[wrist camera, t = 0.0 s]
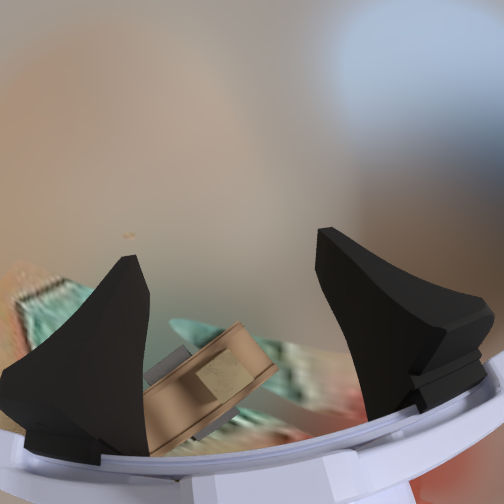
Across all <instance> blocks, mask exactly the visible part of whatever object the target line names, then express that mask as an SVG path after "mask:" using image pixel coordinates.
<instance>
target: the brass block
mask: <svg viewBox="0 0 504 504" xmlns="http://www.w3.org/2000/svg"><path fill="white" fill-rule="evenodd" d="M196 374H197V376H198V377H199V378H200V379H201V380H202V382H203V383H204V384H205V385H206V386H207V388H208V389H209V390H210V391H211V392H212V393H213V395H214V396H215V397H216V398H217V399H218V400H219V401H220V403H221V404H224V403H225V402H226V401H228V400H229V399H230V398H232V397H233V396H234V395H235V394H237V393H238V392H239V391H241V390H242V389H243V388H244V387H246V386H247V385H248V384H250V383H251V382H252V381H253V380H254V378H253V377H252V376H251V375H250V374H249V373H248V372H247V370H246V369H245V368H244V367H243V366H242V364H241V363H240V362H239V361H238V360H237V359H236V357H235V356H234V355H233V354H232V353H231V351H230V350H229V349H228V348H225V349H224V350H223V351H222V352H220V353H219V354H218V355H216V356H215V357H214V358H213V359H211V360H210V361H209V362H207V363H206V364H205V365H203V366H202V367H201V368H199V369H198V370H197V371H196Z"/></svg>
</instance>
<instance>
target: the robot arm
mask: <svg viewBox="0 0 504 504" xmlns="http://www.w3.org/2000/svg"><path fill="white" fill-rule="evenodd" d="M315 271H316V274H317V277H318V280H319V283H320V286H321V288H322V291H323V293H324V295H325V297H326V299H327V301H328V303H329V305H330V307H331V309H332V311H333V313H334V315H335V317H336V319H337V321H338V323H339V325H340V327H341V329H342V332H343V334H344V336H345V339H346V341H347V344H348V347H349V350H350V353H351V356H352V359H353V362H354V366H355V369H356V372H357V376H358V379H359V383H360V387H361V391H362V395H363V399H364V404H365V408H366V413H367V418H368V422H367V423H364V424H361V425H358V426H355V427H352V428H348V429H345V430H342V431H338V432H335V433H331V434H327V435H323V436H320V437H316V438H312V439H307V440H303V441H299V442H294V443H289V444H284V445H279V446H274V447H268V448H262V449H256V450H249V451H241V452H233V453H224V454H214V455H201V456H182V457H150V453H149V447H148V441H147V434H146V426H145V417H144V404H143V378H142V377H143V374H142V373H143V359H144V350H145V342H146V336H147V329H148V321H149V311H150V310H149V309H150V292H149V290H148V287H147V284H146V282H145V279H144V276H143V273H142V271H141V268H140V265H139V262H138V259H137V256H136V255H130V256H124V257H121V258H120V260H118V262H117V263H116V264H115V265H114V266H113V268H112V269H111V270H110V271H109V273H108V274H107V275H106V276H105V278H104V279H103V280H102V281H101V283H100V284H99V285H98V286H97V288H96V289H95V290H94V291H93V292H92V294H91V295H90V296H89V297H88V298H87V299H86V301H85V302H84V303H83V304H82V305H81V307H80V308H79V309H78V310H77V311H76V312H75V313H74V314H73V315H72V316H71V317H70V318H69V319H68V320H67V321H66V322H65V323H64V324H63V325H62V326H61V327H60V328H59V329H58V330H57V331H55V332H54V333H53V334H52V335H51V336H50V337H49V338H48V339H47V340H45V341H44V342H43V343H42V344H40V345H39V346H38V347H37V348H35V349H34V350H33V351H31V352H30V353H29V354H27V355H26V356H24V357H23V358H21V359H20V360H18V361H17V362H15V363H14V364H12V365H10V366H9V367H7V368H6V369H4V370H3V372H2V375H1V378H0V410H1V411H3V412H4V413H5V414H6V415H7V416H8V417H10V418H11V419H12V420H14V421H15V422H16V423H18V424H19V425H20V426H22V427H23V428H24V429H26V435H25V436H23V435H20V434H18V433H14V432H10V431H6V430H3V429H0V490H2V491H5V492H7V493H9V494H12V495H14V496H16V497H19V498H21V499H24V500H27V501H29V502H32V503H35V504H416V502H415V499H414V496H413V493H412V490H411V487H410V484H409V481H410V480H412V479H414V478H416V477H418V476H420V475H422V474H424V473H426V472H428V471H430V470H432V469H433V468H435V467H437V466H439V465H441V464H442V463H444V462H446V461H448V460H449V459H451V458H453V457H455V456H456V455H458V454H460V453H461V452H463V451H464V450H466V449H467V448H469V447H470V446H472V445H474V444H475V443H476V442H478V441H479V440H481V439H482V438H484V437H485V436H487V435H488V434H489V433H491V432H492V431H493V430H495V429H496V428H498V427H499V426H500V425H501V424H503V423H504V350H503V351H502V352H500V353H499V354H497V355H495V356H494V357H492V358H490V359H489V360H487V361H486V362H485V363H484V364H483V365H482V364H481V362H480V361H479V359H480V358H481V356H482V354H481V353H480V351H479V349H478V347H479V346H480V344H481V343H482V342H483V340H484V339H485V337H486V336H487V334H488V333H489V331H490V329H491V328H492V326H493V323H494V318H495V315H494V313H493V312H492V310H491V309H490V308H489V306H488V305H487V304H486V302H485V301H484V300H483V299H482V298H480V297H476V296H472V295H468V294H464V293H459V292H456V291H453V290H450V289H446V288H443V287H440V286H438V285H435V284H432V283H430V282H427V281H425V280H422V279H420V278H418V277H415V276H413V275H411V274H409V273H407V272H405V271H403V270H401V269H399V268H397V267H395V266H393V265H392V264H390V263H388V262H386V261H385V260H383V259H381V258H380V257H378V256H376V255H375V254H373V253H372V252H370V251H368V250H367V249H365V248H364V247H362V246H361V245H359V244H358V243H356V242H355V241H353V240H352V239H350V238H349V237H347V236H346V235H344V234H343V233H341V232H340V231H338V230H336V229H335V228H333V227H329V228H321V229H318V234H317V248H316V261H315ZM174 480H180V481H179V482H175V481H174Z"/></svg>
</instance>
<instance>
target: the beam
mask: <svg viewBox="0 0 504 504" xmlns="http://www.w3.org/2000/svg"><path fill="white" fill-rule="evenodd" d="M225 348H228V349H229V350H230V351H231V353H232V354H233V355H234V356H235V357H236V359H237V360H238V361H239V362H240V363H241V364H242V366H243V367H244V368H245V369H246V370H247V372H248V373H249V374H250V375H251V376H252V377H253V378H254V380H253V381H252V382H251V383H250V384H248V385H247V386H246V387H244V388H243V389H242V390H241V391H239V392H238V393H237V394H235V395H234V396H233V397H232V398H230V399H229V400H228V401H226V402H225V403H224V404H221V403H220V401H219V400H218V399H217V398H216V397H215V396H214V395H213V393H212V392H211V391H210V390H209V389H208V388H207V386H206V385H205V384H204V383H203V382H202V380H201V379H200V378H199V377H198V376H197V374H196V371H197V370H198V369H199V368H201V367H202V366H203V365H205V364H206V363H207V362H209V361H210V360H211V359H213V358H214V357H215V356H216V355H218V354H219V353H220V352H222V351H223V350H224V349H225ZM278 370H279V369H278V366H277V365H276V364H275V363H273V362H272V361H271V359H270V358H269V357H268V356H267V355H266V353H265V352H264V351H263V350H262V349H261V348H260V346H259V345H258V344H257V343H256V342H255V340H254V339H253V338H252V337H251V336H250V334H249V333H248V332H247V331H246V330H245V328H244V326H243V325H242V323H240V322H239V321H237V322H236V323H234V324H233V325H232V326H231V327H229V328H228V329H227V330H225V331H224V332H223V333H222V334H220V335H219V336H218V337H216V338H215V339H214V340H212V341H211V342H210V343H209V344H207V345H206V346H205V347H203V348H202V349H201V350H199V351H198V352H197V353H195V354H194V355H193V356H191V357H190V358H189V359H187V360H186V361H185V362H183V363H182V364H181V365H179V366H178V367H177V368H175V369H174V370H173V371H171V372H170V373H169V374H167V375H166V376H165V377H163V378H162V379H160V380H159V381H158V382H156V383H155V384H154V385H152V386H151V387H149V388H148V389H147V390H145V391H144V392H143V404H144V417H145V426H146V434H147V441H148V447H149V453H150V457H161V456H163V455H164V454H166V453H168V452H169V451H171V450H172V449H174V448H175V447H177V446H178V445H180V444H181V443H183V442H184V441H186V440H187V439H189V438H190V437H192V436H193V435H195V434H196V433H198V432H199V431H200V430H202V429H203V428H205V427H206V426H208V425H209V424H210V423H212V422H213V421H214V420H216V419H217V418H219V417H220V416H221V415H223V414H224V413H225V412H227V411H228V410H229V409H231V408H232V407H233V406H235V405H236V404H237V403H239V402H240V401H241V400H242V399H244V398H245V397H246V396H248V395H249V394H250V393H251V392H253V391H254V390H255V389H256V388H258V387H259V386H260V385H261V384H263V383H264V382H265V381H266V380H267V379H269V378H270V377H271V376H272V375H273V374H275V373H276V372H277V371H278Z"/></svg>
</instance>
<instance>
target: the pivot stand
mask: <svg viewBox="0 0 504 504" xmlns="http://www.w3.org/2000/svg"><path fill="white" fill-rule="evenodd" d="M191 356H192V355H191V354H190V352H189V351H188V350H187V349H186V347H185V346H184V345H182V346H181V347H179V348H178V349H176V350H175V351H174V352H172V353H171V354H170V355H169V356H167V357H166V358H165V359H163V360H162V361H161V362H159V363H158V364H157V365H155V366H154V367H153V368H151V369H150V370H148V371H147V372H146V373H144V374H143V377H144V378H145V380H146V381H147V382H148V384H149V385H150V386H152V385H154V384H155V383H156V382H158V381H159V380H160V379H162V378H163V377H165V376H166V375H167V374H169V373H170V372H171V371H173V370H174V369H175V368H177V367H178V366H179V365H181V364H182V363H183V362H185V361H186V360H187V359H189V358H190V357H191ZM239 413H240V411H239V410H238V409H237V408H236V407H235V406H233V407H232V408H231V409H229V410H228V411H227V412H225V413H224V414H223V415H221V416H220V417H219V418H217V419H216V420H214V421H213V422H212V423H210V424H209V425H208V426H206V427H205V428H203V429H202V430H200V431H199V432H198V433H196V434H195V435H193V436H194V437H195V438H196V440H197V441H200V440H201V439H203V438H204V437H206V436H207V435H209V434H210V433H212V432H213V431H215V430H216V429H218V428H219V427H221V426H222V425H224V424H225V423H226V422H228V421H229V420H231V419H232V418H234V417H235V416H236V415H238V414H239Z"/></svg>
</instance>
